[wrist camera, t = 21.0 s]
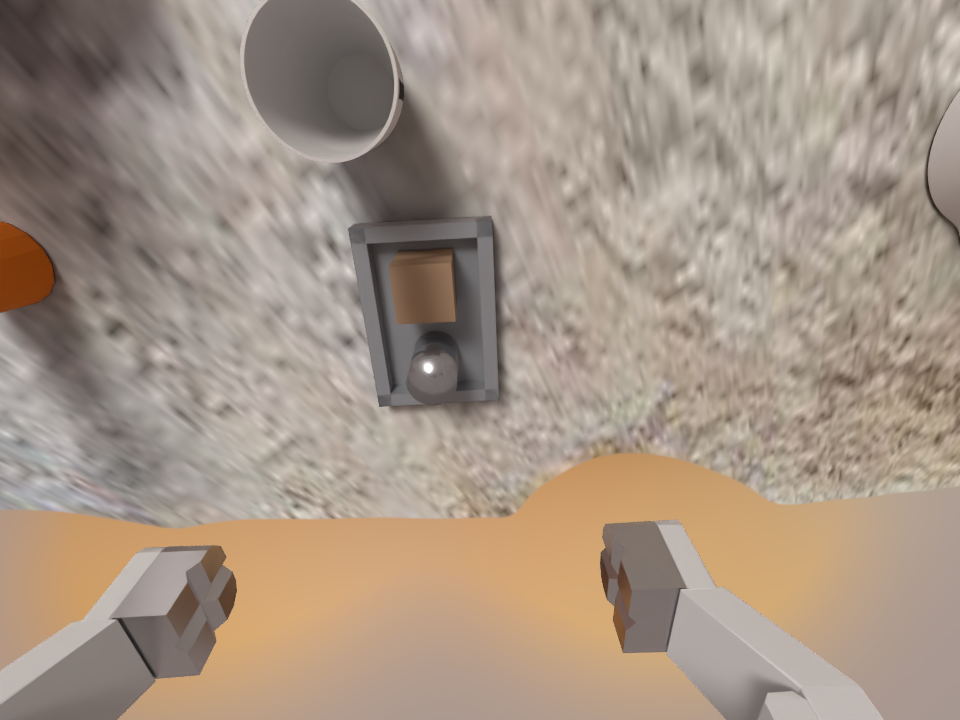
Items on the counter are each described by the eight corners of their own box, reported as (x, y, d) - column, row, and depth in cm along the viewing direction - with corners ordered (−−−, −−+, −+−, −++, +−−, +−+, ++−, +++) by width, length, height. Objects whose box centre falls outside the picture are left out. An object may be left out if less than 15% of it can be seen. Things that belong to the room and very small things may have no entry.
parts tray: (490, 215, 37) (492, 220, 35) (497, 388, 44) (498, 400, 42) (354, 223, 37) (348, 228, 35) (383, 394, 44) (379, 406, 42)
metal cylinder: (460, 369, 42) (458, 403, 37) (417, 371, 42) (409, 406, 37) (456, 329, 41) (454, 359, 35) (412, 332, 41) (403, 362, 35)
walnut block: (453, 247, 37) (451, 263, 33) (457, 300, 39) (455, 321, 35) (398, 250, 37) (388, 266, 33) (405, 303, 39) (396, 324, 35)
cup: (437, 120, 34) (426, 116, 25) (346, 175, 35) (304, 189, 26) (377, -1, 30) (339, -58, 21) (279, 64, 32) (205, 38, 23)
